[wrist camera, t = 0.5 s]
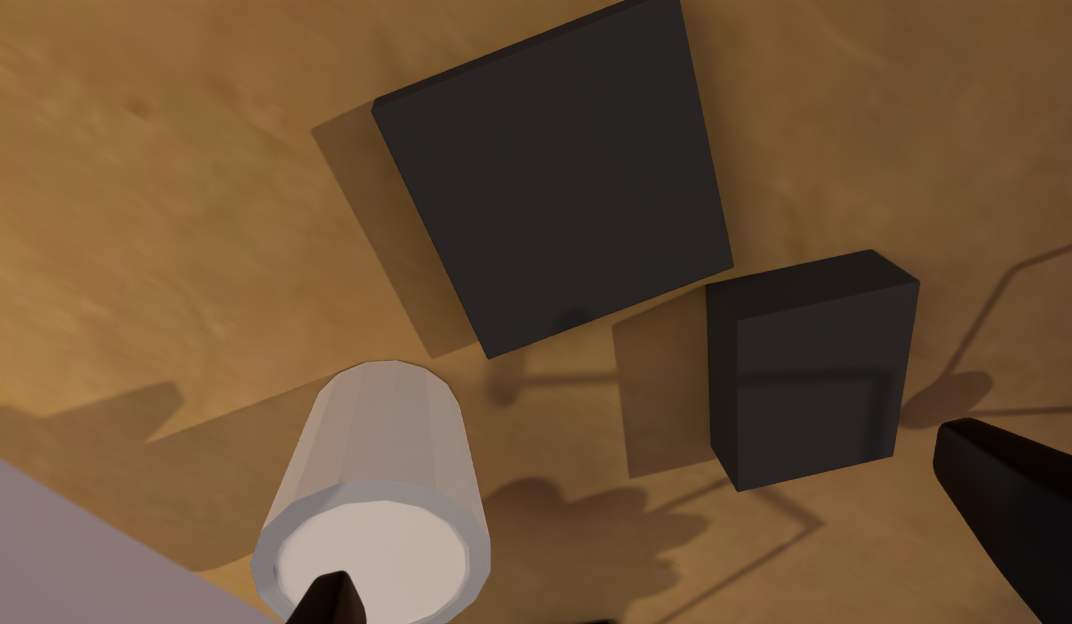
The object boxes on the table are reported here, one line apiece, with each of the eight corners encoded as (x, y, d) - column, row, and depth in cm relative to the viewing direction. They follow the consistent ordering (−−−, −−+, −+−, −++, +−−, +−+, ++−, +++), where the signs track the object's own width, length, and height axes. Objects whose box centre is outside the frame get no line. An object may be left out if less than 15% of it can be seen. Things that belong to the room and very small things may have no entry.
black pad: (853, 413, 28) (893, 456, 26) (710, 446, 28) (737, 493, 26) (871, 248, 24) (920, 281, 22) (705, 284, 24) (736, 321, 22)
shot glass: (261, 450, 25) (208, 612, 19) (347, 314, 22) (319, 447, 16) (420, 510, 27) (418, 668, 21) (510, 393, 25) (538, 532, 19)
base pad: (716, 249, 23) (734, 267, 22) (484, 337, 24) (488, 361, 22) (659, -14, 19) (677, -12, 18) (373, 99, 19) (370, 110, 18)
